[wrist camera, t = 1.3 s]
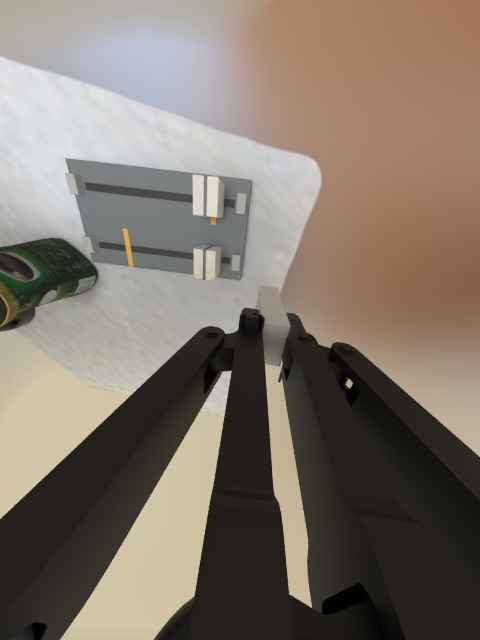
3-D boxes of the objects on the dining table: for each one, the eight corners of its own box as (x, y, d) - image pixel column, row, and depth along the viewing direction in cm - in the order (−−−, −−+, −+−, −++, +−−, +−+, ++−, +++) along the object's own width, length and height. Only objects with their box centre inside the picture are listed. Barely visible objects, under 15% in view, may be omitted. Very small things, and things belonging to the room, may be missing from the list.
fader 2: (202, 270, 31) (193, 278, 27) (202, 244, 29) (193, 248, 25) (220, 272, 31) (214, 281, 27) (221, 246, 29) (215, 251, 25)
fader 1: (203, 216, 27) (192, 215, 23) (203, 182, 25) (192, 173, 21) (223, 218, 27) (216, 218, 23) (225, 184, 25) (218, 176, 21)
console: (101, 259, 34) (87, 263, 31) (77, 162, 27) (57, 155, 24) (241, 277, 33) (239, 282, 31) (251, 182, 27) (251, 178, 24)
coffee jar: (39, 259, 35) (-153, 292, 18) (57, 230, 32) (-151, 236, 16) (86, 297, 38) (-44, 354, 21) (105, 273, 35) (-26, 317, 19)
